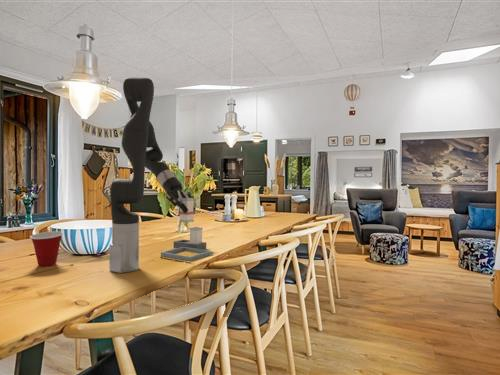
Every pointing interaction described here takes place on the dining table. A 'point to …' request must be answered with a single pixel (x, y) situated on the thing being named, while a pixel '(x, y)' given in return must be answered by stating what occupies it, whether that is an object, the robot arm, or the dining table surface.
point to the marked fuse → (189, 215)
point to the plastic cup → (46, 247)
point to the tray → (187, 258)
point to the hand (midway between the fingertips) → (190, 211)
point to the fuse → (196, 235)
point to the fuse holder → (189, 244)
